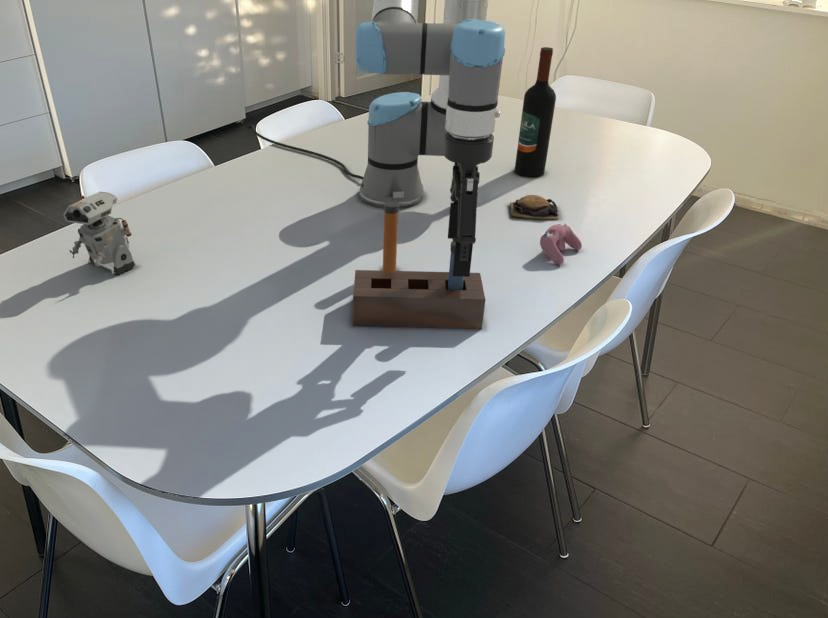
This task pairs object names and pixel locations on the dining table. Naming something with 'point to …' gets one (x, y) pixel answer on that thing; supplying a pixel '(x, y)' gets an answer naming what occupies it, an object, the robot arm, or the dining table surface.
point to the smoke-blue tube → (453, 281)
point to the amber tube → (390, 235)
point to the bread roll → (534, 208)
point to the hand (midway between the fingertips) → (458, 256)
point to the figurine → (101, 231)
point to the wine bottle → (536, 122)
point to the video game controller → (558, 242)
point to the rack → (416, 300)
